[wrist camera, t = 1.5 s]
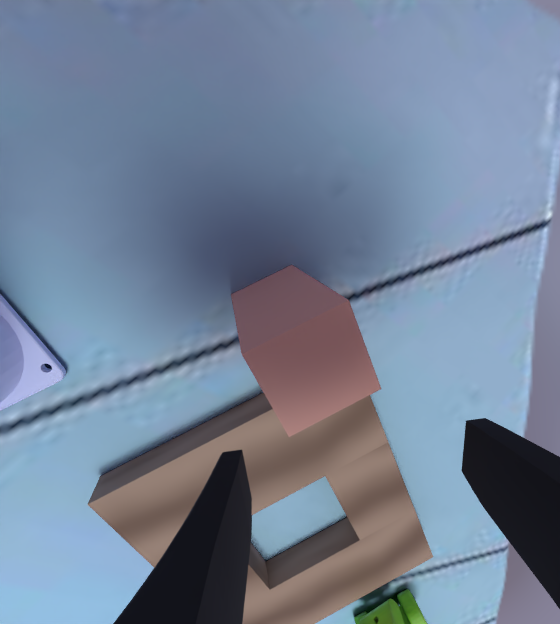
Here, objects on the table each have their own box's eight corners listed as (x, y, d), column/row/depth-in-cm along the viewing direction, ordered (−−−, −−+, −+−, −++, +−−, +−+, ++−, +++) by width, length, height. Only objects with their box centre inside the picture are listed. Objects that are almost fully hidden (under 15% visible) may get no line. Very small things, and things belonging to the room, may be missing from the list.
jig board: (100, 476, 19) (87, 504, 17) (344, 350, 20) (357, 364, 18) (249, 628, 27) (251, 659, 25) (418, 534, 28) (433, 556, 26)
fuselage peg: (230, 294, 17) (241, 354, 10) (291, 264, 17) (348, 300, 10) (260, 348, 18) (288, 437, 11) (315, 320, 19) (381, 388, 11)
